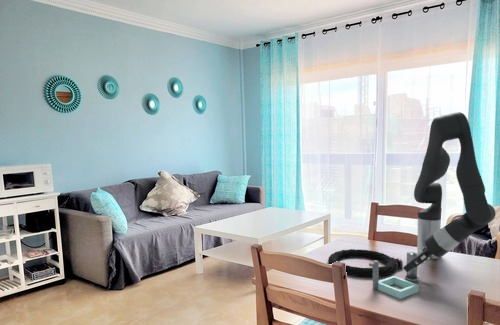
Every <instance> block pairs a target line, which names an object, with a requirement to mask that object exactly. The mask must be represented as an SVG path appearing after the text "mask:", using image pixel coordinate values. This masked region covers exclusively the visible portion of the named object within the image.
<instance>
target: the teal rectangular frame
mask: <svg viewBox="0 0 500 325" xmlns="http://www.w3.org/2000/svg"><path fill="white" fill-rule="evenodd" d="M368 266H369V267H370V268H373V277H372V290H374V291H380V292H382V293H385V294H388V295H390V296H391V297H394V298H397V299H400V300H401V299H403V298H406V297H409V296H412V295H415V294H417V293H419V284H417V283H416V282H410V281H407V280H406V279H405V278H404V279H403V278H401V277H398V276H395V275H393V276H389V277H387V278H383V279H381V280H379V279H380V278H379V277H380V276H379V267H380V262H379V260H375V259H373V260H372V262H368ZM393 285H396V286H399V287H401V289H398V288H396V287H393Z"/></svg>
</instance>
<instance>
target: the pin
mask: <svg viewBox="0 0 500 325" xmlns="http://www.w3.org/2000/svg"><path fill="white" fill-rule="evenodd" d="M416 255H417V252H414V251H413V252H412V251H409V252H408V251H407V252H406V265H407V264H408V263H409V262H410V261H411V260H413V259H414V256H416ZM414 262H415V263H416V264H418V263H417V260H415V261H414ZM404 280H406V281H409V282H412V283H417V282H419V277H418V266H417V267H416V268H415V267H414V268H413V269H411V270H410V271H409V272H406V275H405V276H404Z"/></svg>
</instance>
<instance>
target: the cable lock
mask: <svg viewBox="0 0 500 325" xmlns="http://www.w3.org/2000/svg"><path fill="white" fill-rule="evenodd" d="M363 257H364V258H363ZM348 258H363V259H371V260H376V261H380V262H381V263H384V264H385V265H383V266H379V277H385V276H387V275H391V274H392V273H394V272H395V271H397V270H400V269H403V267H404V265H403V260H402V259H399V258H395V257H391V256H389V255H387V254H385V253H383V252H379V251H376V250H369V249H356V248H355V249H354V248H351V249H349V248H348V249H342V250H338V251H335V252H333V253H331V254H330V256H328V258H327V263H328V265H329V264H332V263H334V262H336V261H339V260H343V259H348ZM345 265H346V264H345ZM346 272H347V275H346V276H354V277H359V278H373V267H359V266H351V265H348V264H347V265H346Z"/></svg>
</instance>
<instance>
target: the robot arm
mask: <svg viewBox="0 0 500 325" xmlns="http://www.w3.org/2000/svg"><path fill="white" fill-rule="evenodd" d="M472 136H473V135H472V131H471V127H470V122H469V120H468V118H467V116H466V115H465V113H463V112H460V111H457V112H451V113H447V114H443V115H439V116H436V117H434V118H433V120H432V122H431V124H430V129H429V136H428V142H427V148H426V152H425V155H424V157H423V162H422V165H421V170H420V174H419V177H418V179H417V181H416V184H415V186H414V192H413V198H414V200H415V201H416V202H417V203H419V204H431V205H430V206H428V207H426V208H424V209H420V210H418V212H417V247H416V248H417V249H416V250H417V252H416V253H417V255H416V256H414V259H413V260H411V261H410V262H409V263H408V264H407V263H406V264H405V265H403V267H402V269H403V270H404V272H406V273H407V272H409V271H410V270H411V269H413V268H414V267H415V268H416V267H417V268H418V267H419V266H420V265H423V264H425V262H427V261H428V260H437V259H440V258H442V257H443V256H445V255H447V254H448V253H449V252H450V251H452V250H454V249H455V248H456V247H458V245H459V244H461V242H463V241H464V240H467V238H468V237H470V236H471V235H473V233H475V232H476V231H478V230H480V229H482V228H484V227H485V226H487V225H488V224H490V223H491V222H492V221H493V220H495V217H496V213H497V212H496V209H495V208H494V207H493V205H492V204H489V203H488V201H487V197H486V187H485V184H484V181H483V179H482V176H481V172H480V170H479V166H478V163H477V162H478V161H477V158H476V152H475V148H474V142H473V141H474V140H473V137H472ZM457 139H458V141H459V145H460V146H459V147H460V153H459V158H458V162H457V163H456V164H457V165H456V167H455V168H456V170H455V175H456V180H457V182H458V185H459V188H460V191H461V193H462V197H463V203H464V204H463V205H464V210H465V213H464V214H462V215H461V216H459V217H457V218H455V219H453V220H452V221H450V222H449V223H448V224H446V225H445V226H443V227H442V228H441V226H442V225H441V223H442V222H441V221H442V220H441V216H442V200H443V187H442V185H441V184H440V183H439V182H437V181H438V180H440V179H442V178H443V177H444V176H445V175H446V173H447V171H448V170H449V169H448V168H449V166H450V163H451V156H450V155H449V153H448V152H447V151H446V149H445V148H444V147H443V144H444V143H445V142H447V141H452V140H457ZM415 260H417V264H416V263H415V262H414V261H415Z"/></svg>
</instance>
